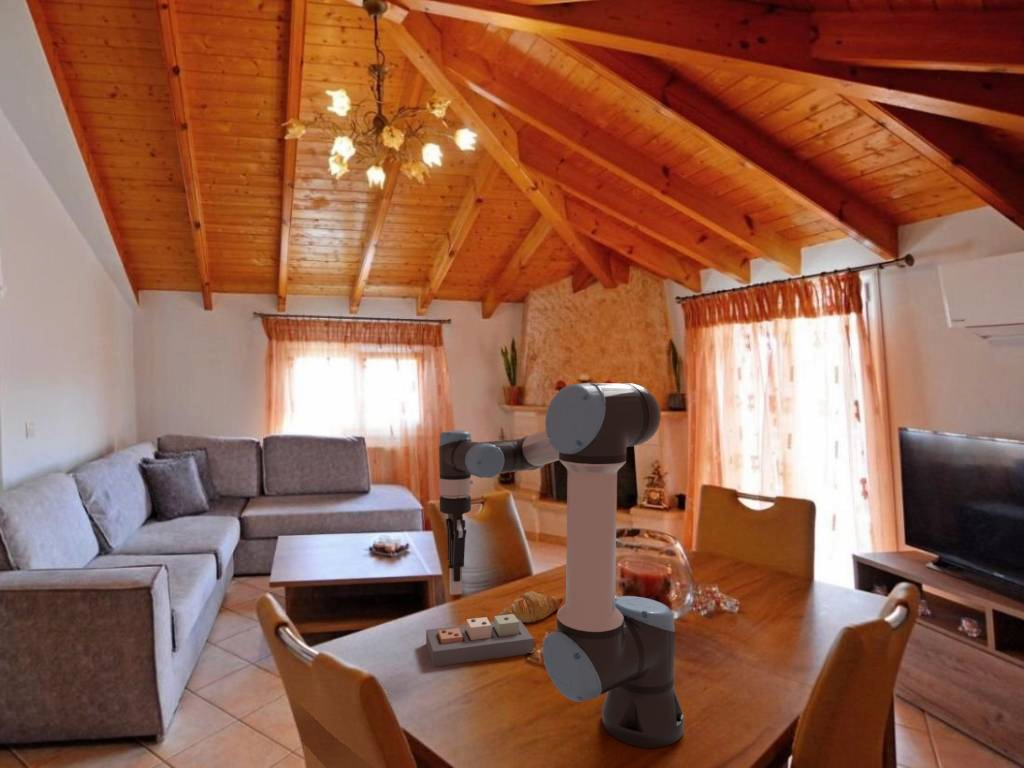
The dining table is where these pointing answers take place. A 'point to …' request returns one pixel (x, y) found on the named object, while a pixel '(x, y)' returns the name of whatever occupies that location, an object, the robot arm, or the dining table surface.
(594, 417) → the robot arm
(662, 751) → the dining table surface
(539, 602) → the croissant
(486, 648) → the console
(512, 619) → the button one
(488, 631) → the button two
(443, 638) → the button three
